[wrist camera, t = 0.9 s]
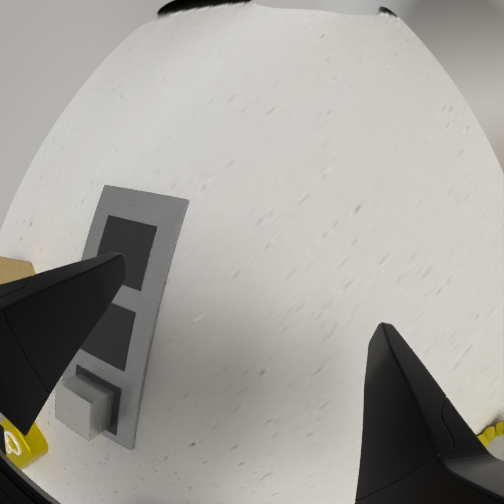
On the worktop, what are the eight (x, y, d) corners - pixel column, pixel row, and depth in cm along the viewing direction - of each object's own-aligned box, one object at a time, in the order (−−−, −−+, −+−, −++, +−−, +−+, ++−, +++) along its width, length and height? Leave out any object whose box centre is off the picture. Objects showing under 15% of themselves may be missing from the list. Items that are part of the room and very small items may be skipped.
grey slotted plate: (133, 448, 22) (131, 450, 22) (64, 407, 24) (61, 408, 23) (189, 201, 25) (186, 199, 25) (107, 186, 27) (104, 184, 26)
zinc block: (110, 427, 22) (88, 440, 18) (78, 407, 23) (55, 417, 19) (114, 392, 23) (90, 403, 19) (80, 373, 23) (56, 380, 19)
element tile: (2, 356, 26) (-21, 359, 22) (54, 447, 23) (32, 458, 19) (-18, 393, 26) (-36, 397, 21) (25, 468, 23) (8, 476, 18)
